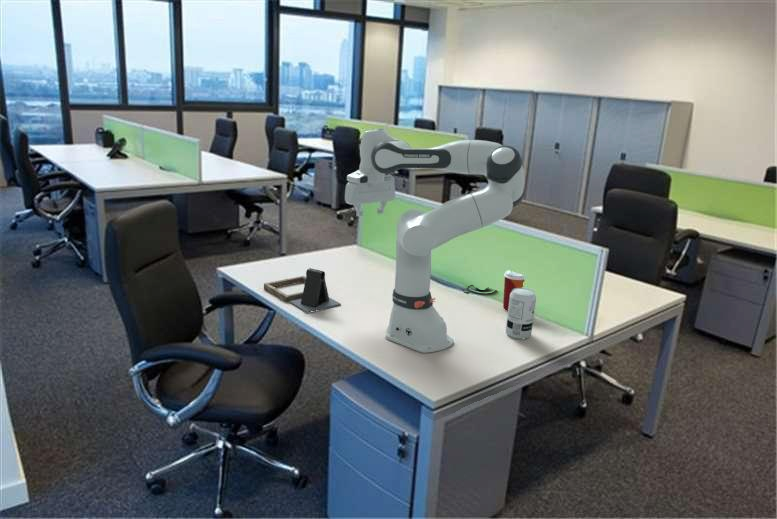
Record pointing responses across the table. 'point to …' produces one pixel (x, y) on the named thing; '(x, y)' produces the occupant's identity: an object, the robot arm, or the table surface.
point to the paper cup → (511, 285)
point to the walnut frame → (277, 292)
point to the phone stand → (314, 288)
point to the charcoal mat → (308, 308)
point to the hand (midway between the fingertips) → (369, 214)
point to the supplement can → (520, 313)
